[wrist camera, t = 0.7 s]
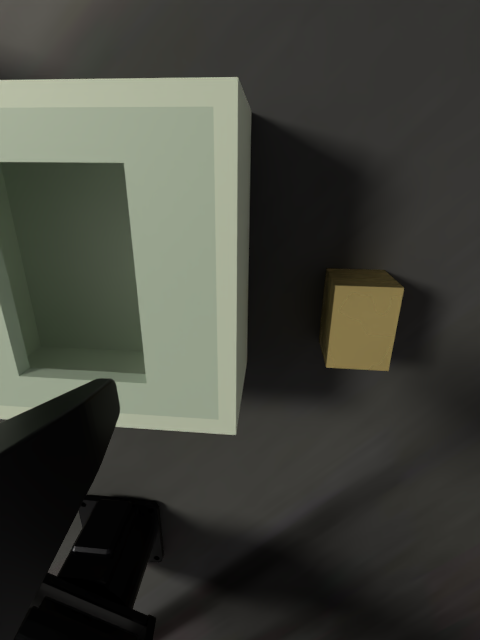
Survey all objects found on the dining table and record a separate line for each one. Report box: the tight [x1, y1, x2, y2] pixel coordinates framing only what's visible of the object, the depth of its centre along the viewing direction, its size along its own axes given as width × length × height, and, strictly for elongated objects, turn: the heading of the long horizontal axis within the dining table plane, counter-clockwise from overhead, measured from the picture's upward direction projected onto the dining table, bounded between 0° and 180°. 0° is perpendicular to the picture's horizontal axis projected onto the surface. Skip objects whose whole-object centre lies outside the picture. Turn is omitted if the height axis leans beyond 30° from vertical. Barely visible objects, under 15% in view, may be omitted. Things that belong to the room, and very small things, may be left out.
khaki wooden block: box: [319, 268, 404, 371], centre depth 20 cm, size 4×3×4 cm
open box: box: [0, 77, 252, 435], centre depth 18 cm, size 14×14×7 cm
